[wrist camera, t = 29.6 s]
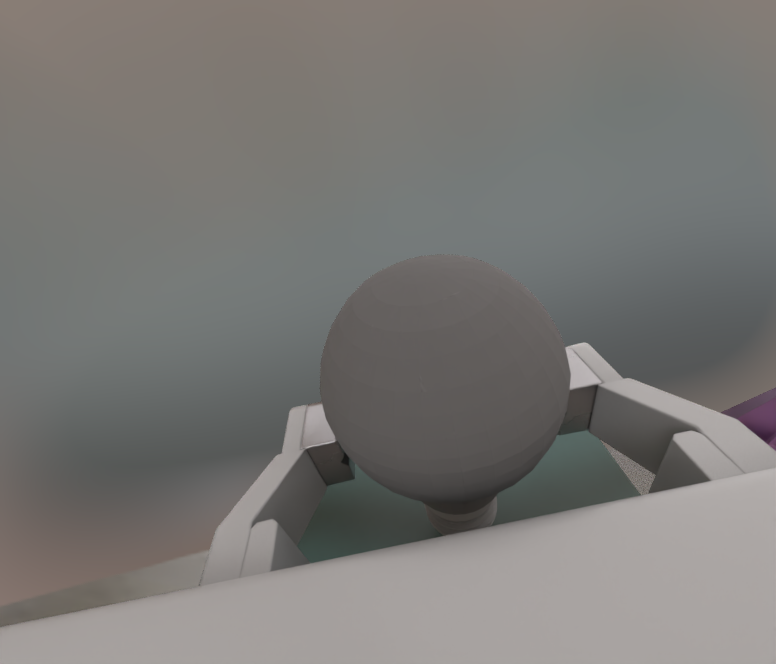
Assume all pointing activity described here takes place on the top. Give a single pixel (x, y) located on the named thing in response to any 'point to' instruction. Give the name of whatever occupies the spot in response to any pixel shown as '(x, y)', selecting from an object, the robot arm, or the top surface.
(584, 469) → the dark green box lid
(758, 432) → the letters
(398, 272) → the light bulb
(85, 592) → the top surface
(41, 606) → the top surface
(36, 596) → the top surface
